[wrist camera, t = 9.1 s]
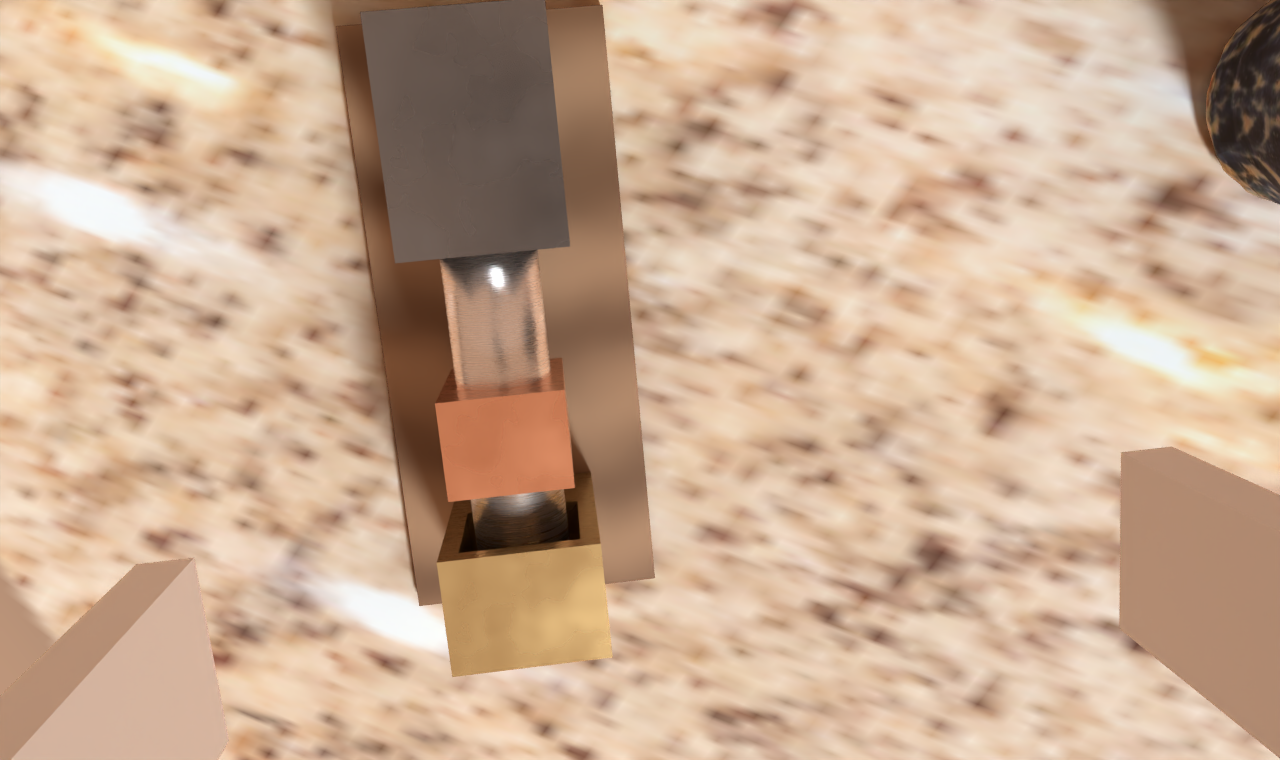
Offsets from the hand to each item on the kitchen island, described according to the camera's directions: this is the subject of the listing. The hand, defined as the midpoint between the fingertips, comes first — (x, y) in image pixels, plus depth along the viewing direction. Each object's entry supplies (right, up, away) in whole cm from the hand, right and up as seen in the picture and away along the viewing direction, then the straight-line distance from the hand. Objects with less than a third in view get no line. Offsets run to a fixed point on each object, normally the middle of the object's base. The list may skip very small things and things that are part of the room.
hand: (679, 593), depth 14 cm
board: (-7, +6, +36) cm, 37 cm away
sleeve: (-8, +14, +34) cm, 38 cm away
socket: (-6, -4, +38) cm, 39 cm away
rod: (-7, +4, +32) cm, 33 cm away
